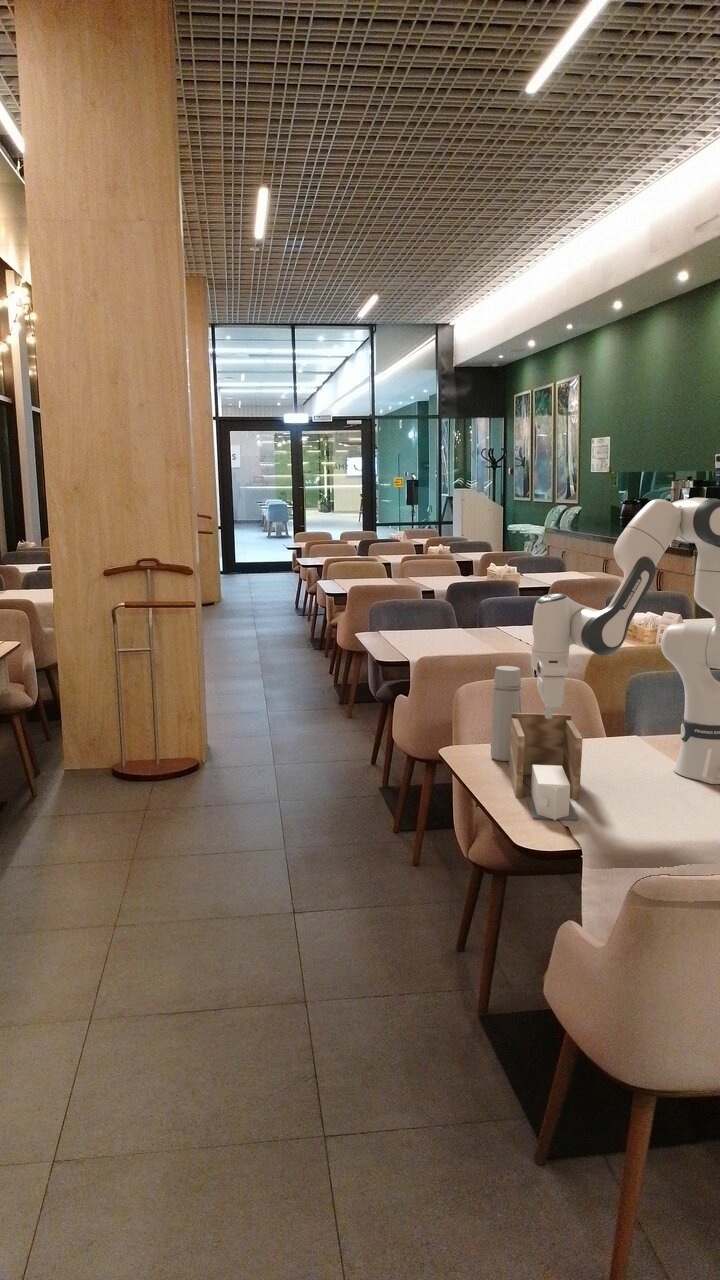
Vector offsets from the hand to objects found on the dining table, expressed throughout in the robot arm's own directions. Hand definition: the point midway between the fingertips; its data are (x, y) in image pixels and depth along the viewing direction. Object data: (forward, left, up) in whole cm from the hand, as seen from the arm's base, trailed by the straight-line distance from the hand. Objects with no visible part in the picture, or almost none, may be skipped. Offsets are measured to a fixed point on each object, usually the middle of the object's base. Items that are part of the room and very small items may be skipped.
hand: (547, 717), depth 232 cm
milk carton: (0, +6, -14) cm, 15 cm away
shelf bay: (0, -1, -18) cm, 18 cm away
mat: (0, +16, -18) cm, 24 cm away
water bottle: (+7, -24, -18) cm, 31 cm away
